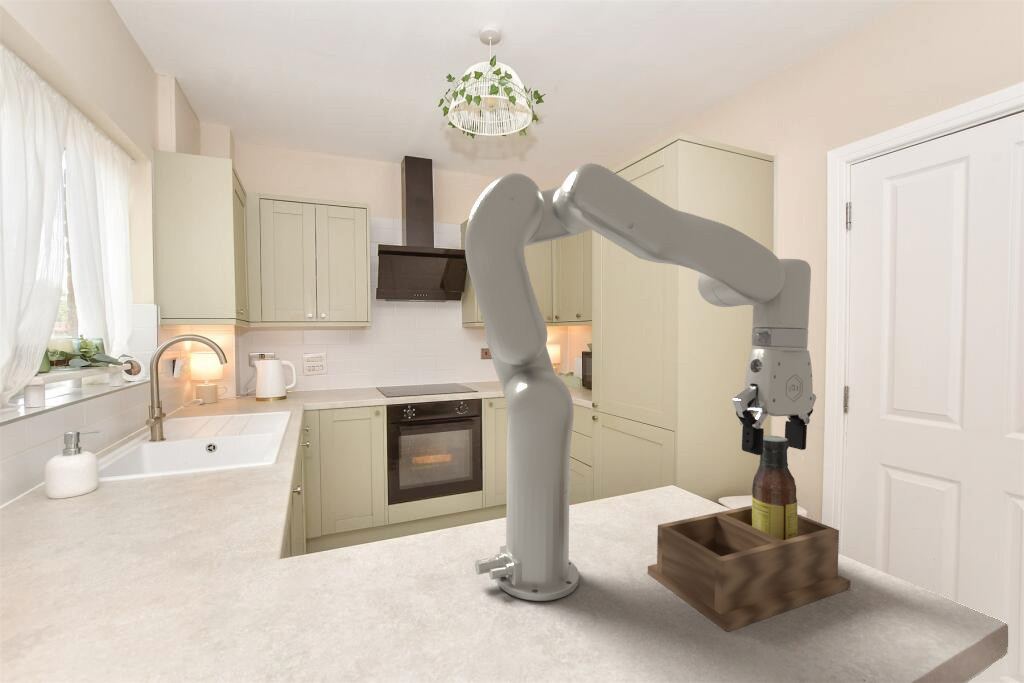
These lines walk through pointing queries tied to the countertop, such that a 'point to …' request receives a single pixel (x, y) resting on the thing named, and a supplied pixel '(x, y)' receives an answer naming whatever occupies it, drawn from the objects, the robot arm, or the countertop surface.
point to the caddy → (746, 566)
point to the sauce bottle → (774, 491)
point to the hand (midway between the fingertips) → (773, 450)
